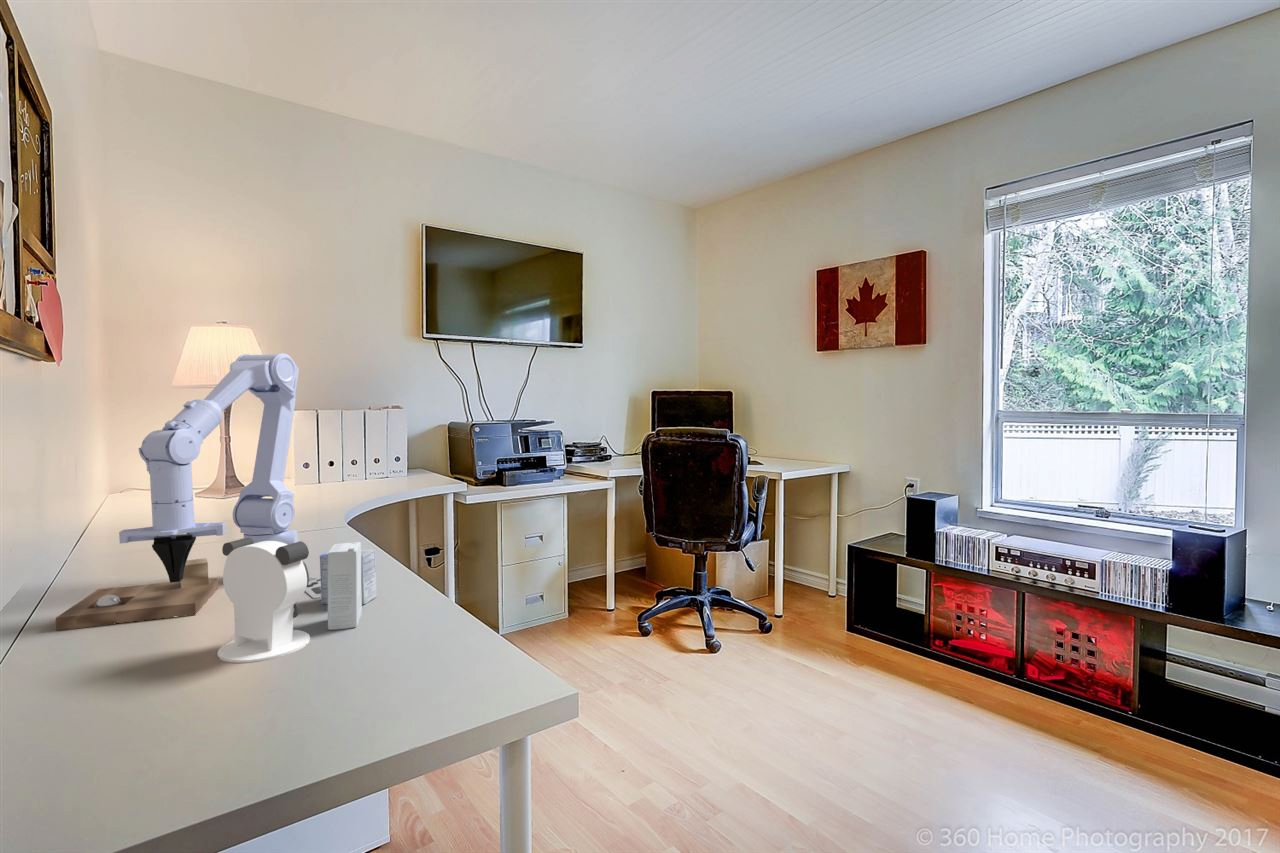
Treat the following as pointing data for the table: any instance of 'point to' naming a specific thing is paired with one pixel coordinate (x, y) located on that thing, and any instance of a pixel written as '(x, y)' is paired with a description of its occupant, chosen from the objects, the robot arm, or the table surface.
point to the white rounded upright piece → (264, 598)
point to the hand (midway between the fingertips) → (176, 580)
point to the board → (137, 604)
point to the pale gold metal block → (195, 573)
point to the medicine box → (366, 576)
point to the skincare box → (344, 586)
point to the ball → (108, 601)
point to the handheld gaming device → (314, 587)
